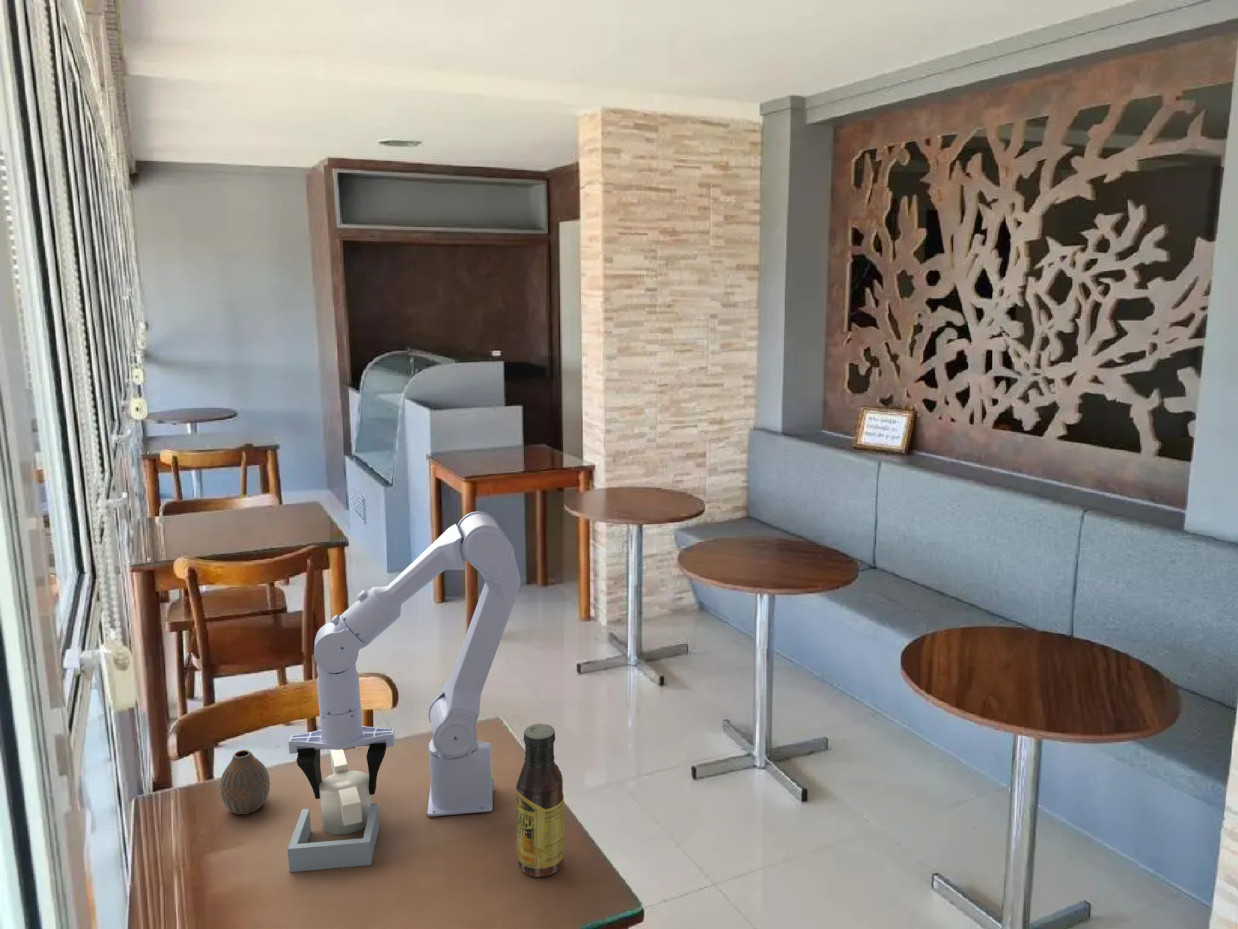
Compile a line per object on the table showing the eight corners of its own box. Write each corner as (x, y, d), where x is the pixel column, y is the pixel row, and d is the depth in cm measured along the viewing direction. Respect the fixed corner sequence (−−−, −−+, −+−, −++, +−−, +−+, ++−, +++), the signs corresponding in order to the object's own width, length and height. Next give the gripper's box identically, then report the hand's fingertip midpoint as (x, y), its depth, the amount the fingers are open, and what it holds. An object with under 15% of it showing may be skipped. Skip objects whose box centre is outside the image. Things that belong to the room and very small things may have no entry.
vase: (279, 796, 142) (275, 743, 140) (258, 821, 135) (253, 766, 133) (236, 794, 142) (231, 741, 141) (213, 819, 136) (207, 764, 134)
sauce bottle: (511, 858, 125) (507, 722, 122) (555, 847, 128) (551, 713, 124) (526, 886, 120) (522, 744, 116) (571, 874, 122) (568, 735, 118)
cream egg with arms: (315, 794, 142) (312, 752, 141) (362, 784, 145) (359, 742, 144) (328, 856, 126) (325, 809, 125) (380, 844, 129) (377, 798, 128)
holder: (379, 824, 134) (378, 803, 133) (371, 865, 124) (369, 842, 124) (303, 831, 132) (302, 809, 132) (289, 872, 123) (287, 849, 122)
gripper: (394, 691, 137) (399, 775, 140) (293, 697, 135) (300, 782, 138) (389, 712, 130) (394, 800, 133) (282, 719, 128) (290, 808, 131)
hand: (346, 793), depth 135 cm, fingers open, 7 cm apart
